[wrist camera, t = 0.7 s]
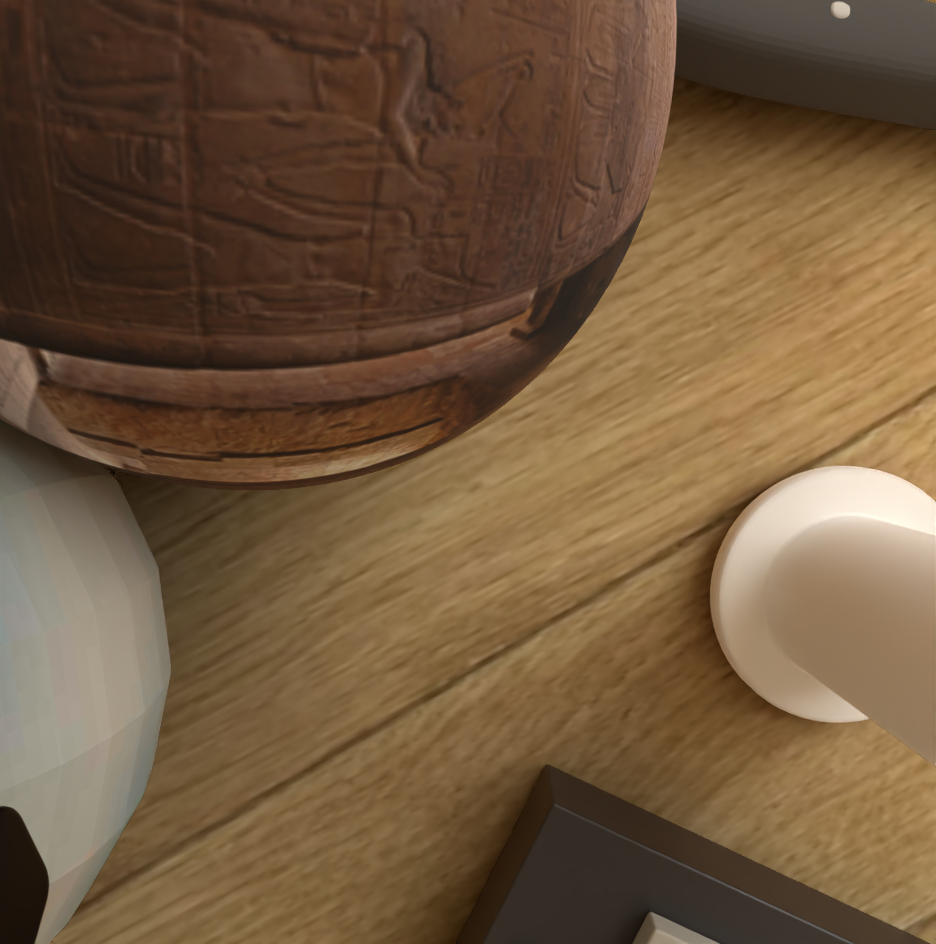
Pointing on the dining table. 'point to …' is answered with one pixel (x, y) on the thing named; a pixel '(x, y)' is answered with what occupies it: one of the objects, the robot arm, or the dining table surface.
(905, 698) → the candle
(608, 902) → the scale
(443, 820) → the dining table surface
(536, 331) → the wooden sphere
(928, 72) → the kitchen knife
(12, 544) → the decorative ball
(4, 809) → the robot arm
